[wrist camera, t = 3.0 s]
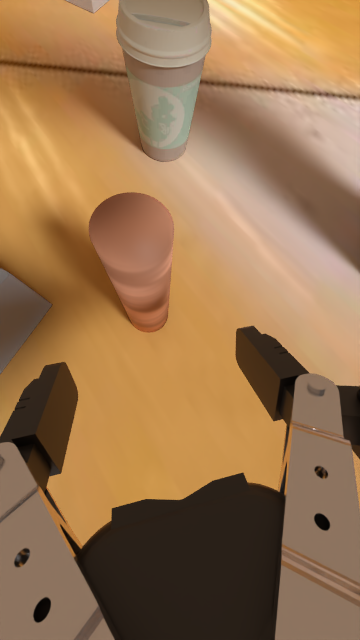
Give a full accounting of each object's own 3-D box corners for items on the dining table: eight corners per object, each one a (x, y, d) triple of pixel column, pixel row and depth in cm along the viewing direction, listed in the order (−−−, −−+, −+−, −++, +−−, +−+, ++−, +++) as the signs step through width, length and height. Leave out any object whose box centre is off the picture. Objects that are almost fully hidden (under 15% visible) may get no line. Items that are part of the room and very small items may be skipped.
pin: (142, 289, 25) (118, 180, 12) (174, 306, 25) (188, 215, 12) (121, 320, 24) (71, 239, 11) (155, 339, 24) (147, 279, 11)
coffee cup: (117, 145, 30) (89, -2, 19) (160, 111, 33) (158, -40, 21) (168, 181, 29) (171, 50, 18) (209, 144, 32) (235, 5, 20)
